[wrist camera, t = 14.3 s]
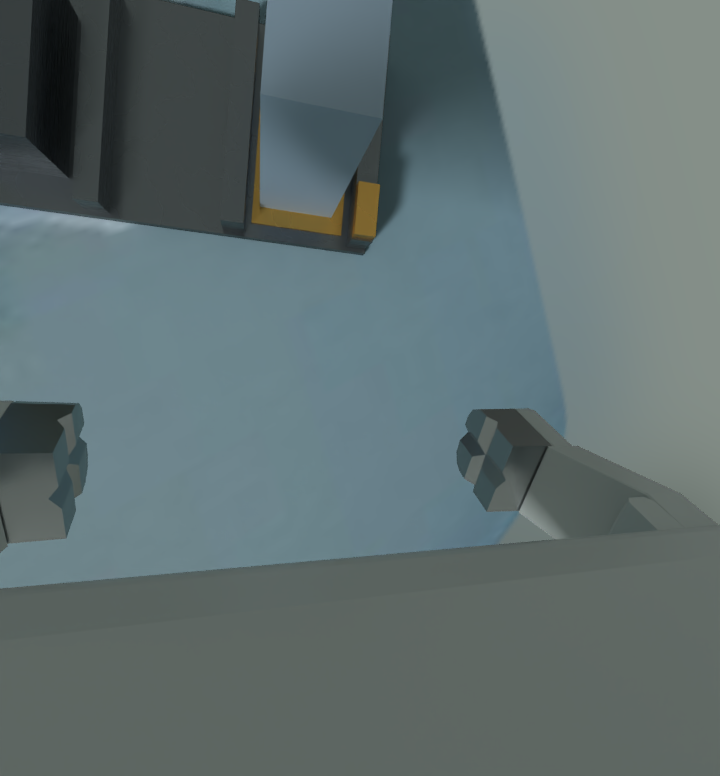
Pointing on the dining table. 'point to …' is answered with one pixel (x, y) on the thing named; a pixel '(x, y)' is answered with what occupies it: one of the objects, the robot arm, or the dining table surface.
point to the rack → (152, 122)
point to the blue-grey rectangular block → (319, 98)
